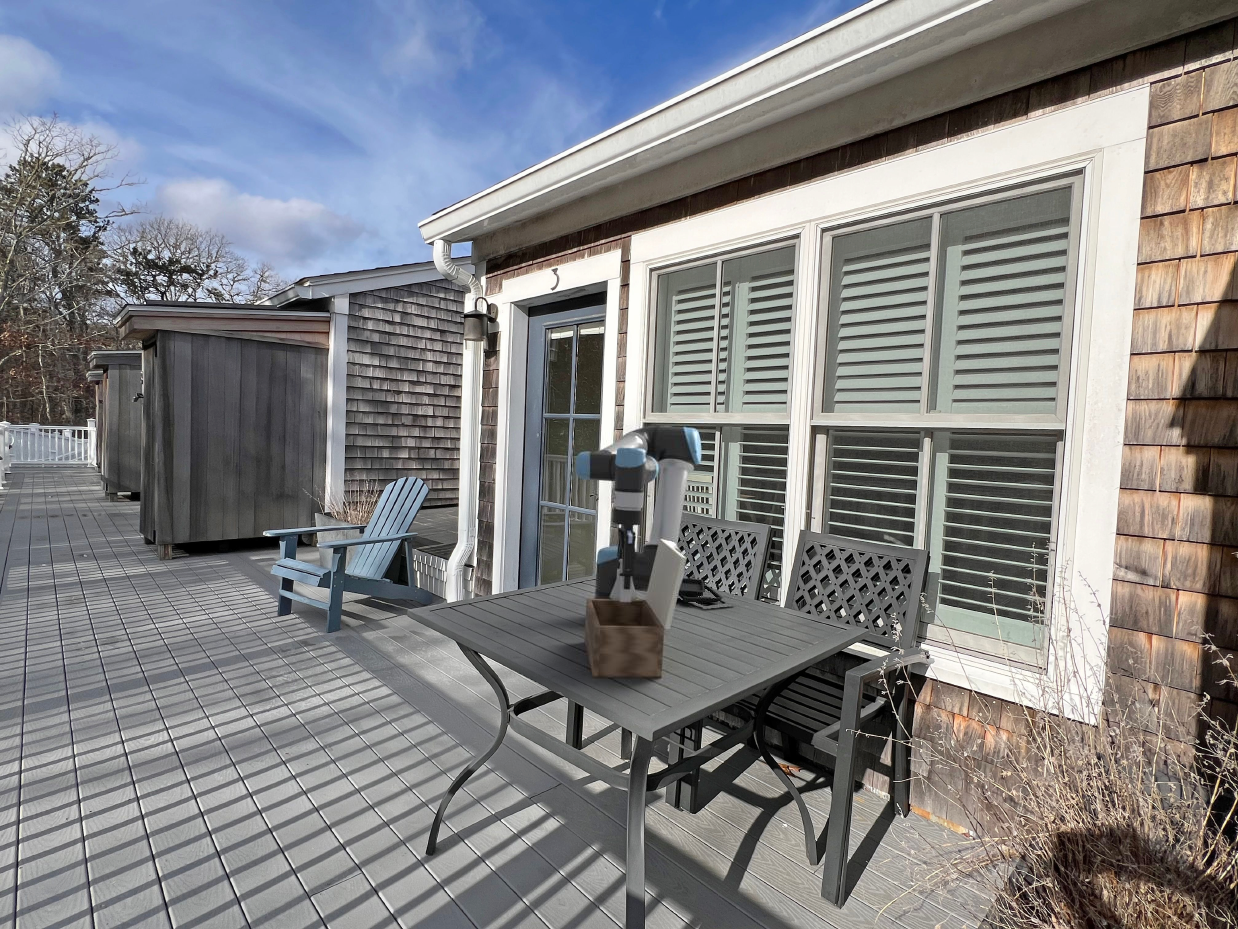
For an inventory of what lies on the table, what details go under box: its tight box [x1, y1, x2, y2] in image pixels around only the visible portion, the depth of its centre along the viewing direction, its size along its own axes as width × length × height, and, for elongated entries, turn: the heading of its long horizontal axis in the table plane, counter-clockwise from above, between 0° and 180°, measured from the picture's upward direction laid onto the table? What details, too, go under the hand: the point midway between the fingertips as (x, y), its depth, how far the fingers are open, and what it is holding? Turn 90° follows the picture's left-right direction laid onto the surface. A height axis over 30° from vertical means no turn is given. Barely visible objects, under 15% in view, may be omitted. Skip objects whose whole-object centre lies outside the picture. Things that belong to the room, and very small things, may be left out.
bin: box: [584, 598, 665, 679], centre depth 167 cm, size 16×26×12 cm, turn 7°
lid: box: [644, 539, 687, 631], centre depth 167 cm, size 17×28×1 cm
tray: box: [678, 577, 724, 606], centre depth 233 cm, size 30×23×5 cm
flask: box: [610, 559, 638, 601], centre depth 166 cm, size 7×7×10 cm
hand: (623, 597), depth 166 cm, fingers closed on flask, 7 cm apart
